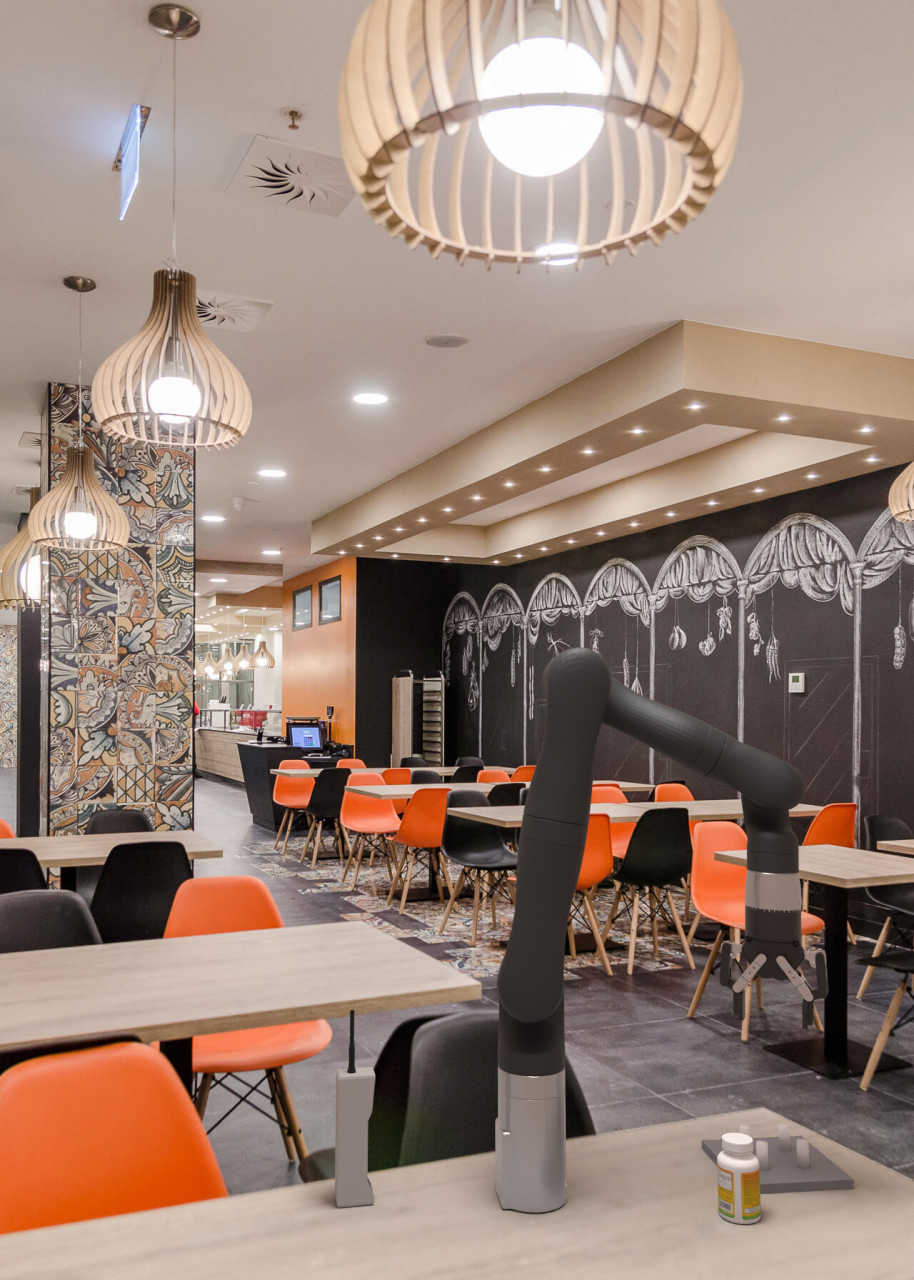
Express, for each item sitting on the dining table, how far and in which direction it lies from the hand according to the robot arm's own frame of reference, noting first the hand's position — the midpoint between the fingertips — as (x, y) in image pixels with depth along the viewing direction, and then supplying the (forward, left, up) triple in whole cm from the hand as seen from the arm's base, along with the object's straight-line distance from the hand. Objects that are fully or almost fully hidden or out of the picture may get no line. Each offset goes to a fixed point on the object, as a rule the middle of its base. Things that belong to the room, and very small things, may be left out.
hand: (773, 1023), depth 138 cm
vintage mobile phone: (-57, +6, -23) cm, 62 cm away
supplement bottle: (-7, -4, -23) cm, 25 cm away
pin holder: (+4, +10, -23) cm, 25 cm away
